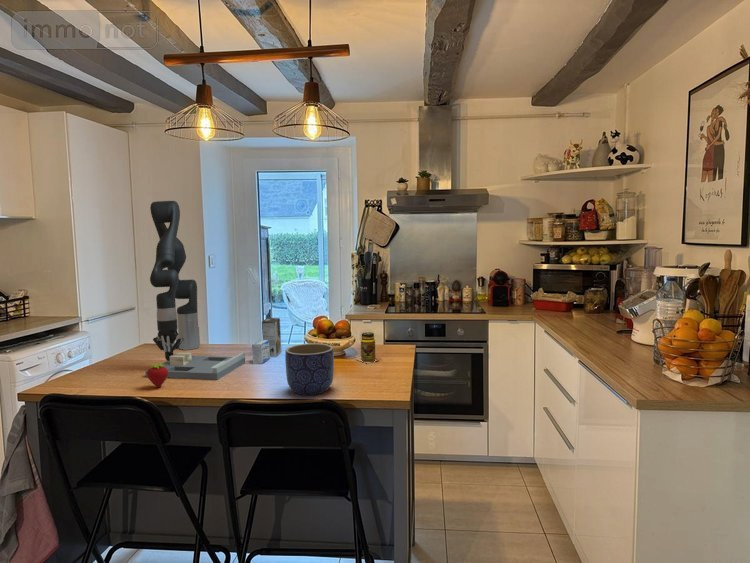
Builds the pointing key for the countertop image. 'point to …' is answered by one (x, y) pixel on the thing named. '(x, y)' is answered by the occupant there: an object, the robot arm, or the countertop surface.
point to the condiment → (368, 347)
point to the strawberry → (157, 374)
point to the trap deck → (205, 367)
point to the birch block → (180, 359)
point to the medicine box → (260, 352)
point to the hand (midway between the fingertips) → (169, 360)
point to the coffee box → (272, 335)
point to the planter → (309, 367)
